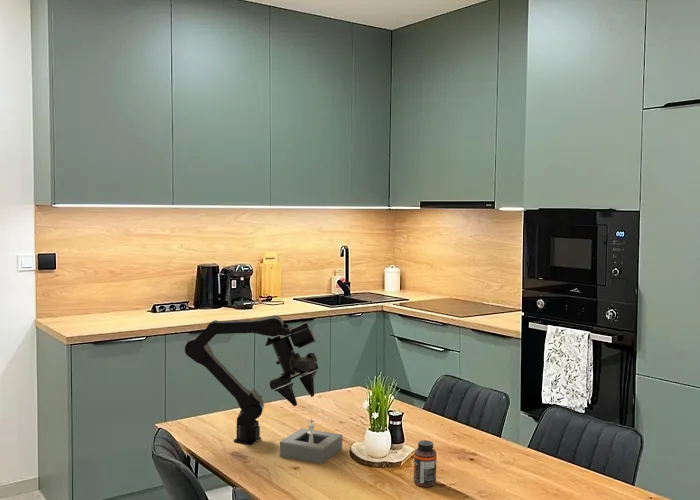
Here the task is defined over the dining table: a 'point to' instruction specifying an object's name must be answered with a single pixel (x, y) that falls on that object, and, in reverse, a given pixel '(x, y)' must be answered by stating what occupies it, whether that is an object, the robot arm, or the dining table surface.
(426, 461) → the supplement bottle
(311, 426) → the chess piece
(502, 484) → the dining table surface
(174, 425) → the dining table surface
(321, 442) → the gray square open box
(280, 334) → the robot arm
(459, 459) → the dining table surface
